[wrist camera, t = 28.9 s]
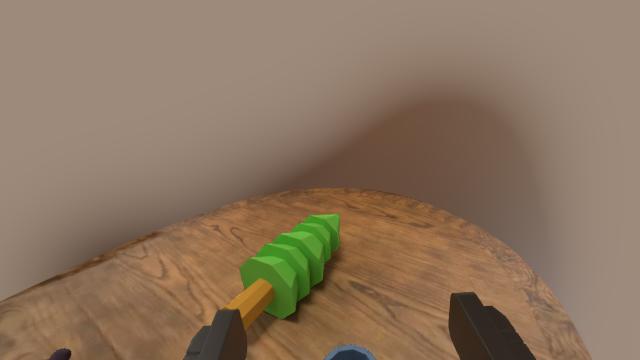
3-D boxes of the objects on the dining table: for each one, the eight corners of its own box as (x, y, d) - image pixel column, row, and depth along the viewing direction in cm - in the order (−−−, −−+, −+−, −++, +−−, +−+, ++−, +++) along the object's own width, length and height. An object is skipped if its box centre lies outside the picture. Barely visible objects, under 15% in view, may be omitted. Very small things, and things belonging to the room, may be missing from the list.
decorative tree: (205, 272, 40) (324, 180, 63) (206, 318, 47) (313, 220, 69) (271, 326, 37) (372, 208, 59) (262, 367, 43) (356, 247, 66)
